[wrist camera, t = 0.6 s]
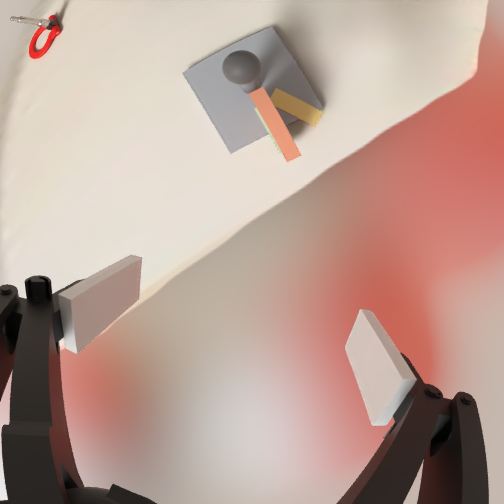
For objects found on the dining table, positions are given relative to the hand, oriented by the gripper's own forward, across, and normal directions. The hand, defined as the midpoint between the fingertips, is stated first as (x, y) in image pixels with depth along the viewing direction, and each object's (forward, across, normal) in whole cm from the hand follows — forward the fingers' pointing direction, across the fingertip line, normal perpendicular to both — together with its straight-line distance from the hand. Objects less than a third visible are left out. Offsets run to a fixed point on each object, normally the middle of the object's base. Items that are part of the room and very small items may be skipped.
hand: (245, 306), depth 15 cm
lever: (+21, -3, +16) cm, 27 cm away
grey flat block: (+23, -5, +19) cm, 30 cm away
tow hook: (+18, -50, +32) cm, 62 cm away
